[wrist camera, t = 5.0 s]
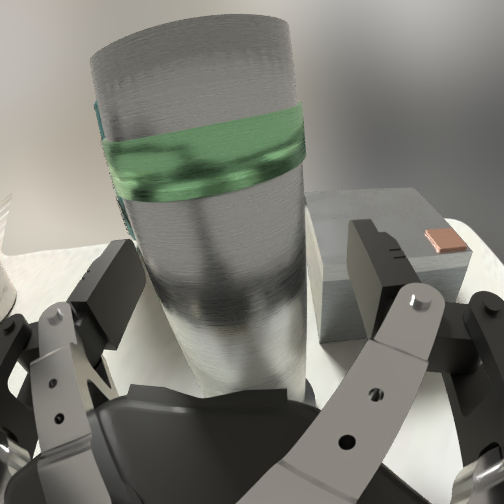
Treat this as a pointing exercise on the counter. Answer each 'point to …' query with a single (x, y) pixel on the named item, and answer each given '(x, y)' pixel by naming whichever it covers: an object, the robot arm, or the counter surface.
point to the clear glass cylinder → (215, 190)
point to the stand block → (385, 220)
